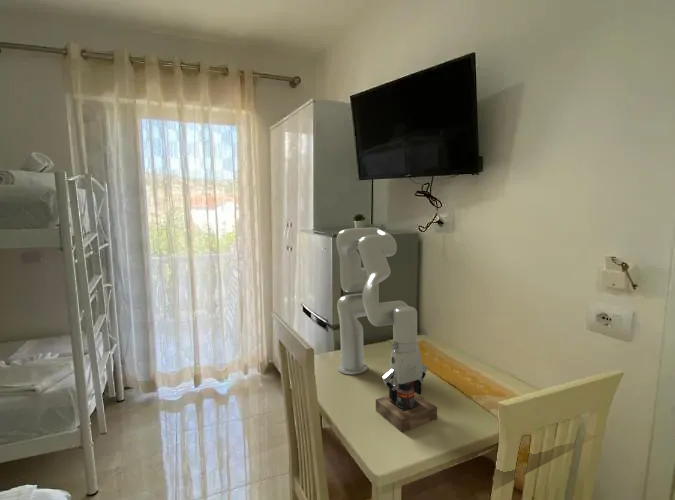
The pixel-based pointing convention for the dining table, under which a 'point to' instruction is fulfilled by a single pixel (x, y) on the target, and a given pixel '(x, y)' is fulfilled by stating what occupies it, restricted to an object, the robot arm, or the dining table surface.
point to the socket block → (406, 413)
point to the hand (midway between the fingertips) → (405, 396)
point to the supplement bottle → (405, 397)
